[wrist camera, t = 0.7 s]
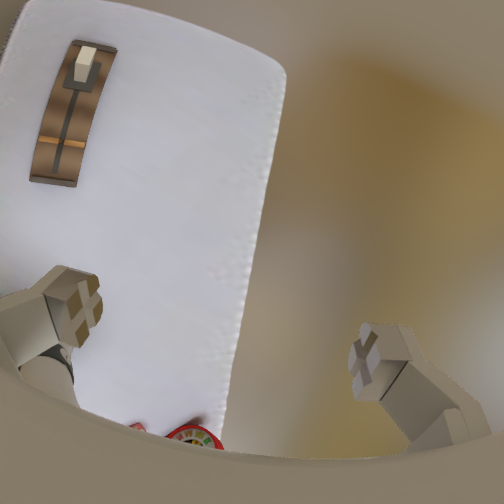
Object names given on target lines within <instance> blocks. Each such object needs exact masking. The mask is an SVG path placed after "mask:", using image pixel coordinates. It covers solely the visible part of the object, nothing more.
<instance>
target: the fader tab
mask: <svg viewBox="0 0 504 504" xmlns="http://www.w3.org/2000/svg"><path fill="white" fill-rule="evenodd" d="M95 52H96V48H91V47H87V46H82V48H81V51H80V53H79V55H78V58H74V59H73V61H72V64H71V66H70V68H69V71H68V74H67V76H66V79H65V81H64V84H63V88H66V89H72V90H77V91H83V92H88V93H91V92H92V89H93V86H94V84H95V81H96V78H97V75H98V73H99V70H100V68H101V65H102V63H98V62H94V61H93V59H94V55H95Z"/></svg>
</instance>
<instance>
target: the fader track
mask: <svg viewBox="0 0 504 504" xmlns="http://www.w3.org/2000/svg"><path fill="white" fill-rule="evenodd" d="M82 46H87V47H91V48H96V52H95V55H94V59H93V61H94V62H98V63H102V65H101V68H100V70H99V73H98V75H97V78H96V81H95V84H94V86H93V89H92V92H91V93H88V92H83V91H77V90H72V89H66V88H63V84H64V81H65V79H66V76H67V74H68V71H69V68H70V66H71V64H72V61H73V59H74V58H78V55H79V53H80V51H81V48H82ZM117 51H118V50H116V48H113V47H109V46H105V45H100V44H96V43H91V42H86V41H81V40H75V41H72V43H71V45H70V48H69V50H68V52H67V54H66V57H65V59H64V61H63V64H62V66H61V69H60V71H59V74H58V76H57V79H56V82H55V84H54V87H53V90H52V93H51V96H50V99H49V102H48V105H47V108H46V111H45V115H44V118H43V121H42V125H41V129H40V132H39V136H38V140H37V144H36V149H35V153H34V158H33V163H32V168H31V173H30V178H29V181H31V182H37V183H44V184H52V185H59V186H66V187H73V188H74V187H76V186H77V181H78V176H79V172H80V167H81V162H82V158H83V154H84V150H85V146H86V142H87V138H88V134H89V131H90V127H91V124H92V120H93V117H94V114H95V110H96V107H97V104H98V101H99V98H100V95H101V92H102V89H103V87H104V84H105V81H106V78H107V76H108V73H109V71H110V68H111V66H112V63H113V61H114V58H115V56H116V53H117Z"/></svg>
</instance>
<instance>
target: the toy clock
mask: <svg viewBox="0 0 504 504" xmlns="http://www.w3.org/2000/svg"><path fill="white" fill-rule="evenodd" d="M167 438H169V439H173V440H177V441H181V442H186V443H190V444H195V445H199V446H204V447H209V448H215V449H220V450H224V448H223V445H222V443H221V442H220V441H219V439H218V438H217V437H215V436H214V435H213V434H212V433H211V432H209V431H208V430H207V429H205V428H203V427H201V426H197V425H187V426H183V427H180V428H178V429H176V430H174V431H173V432H172V433H170V434H169V435H168V436H167Z"/></svg>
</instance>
